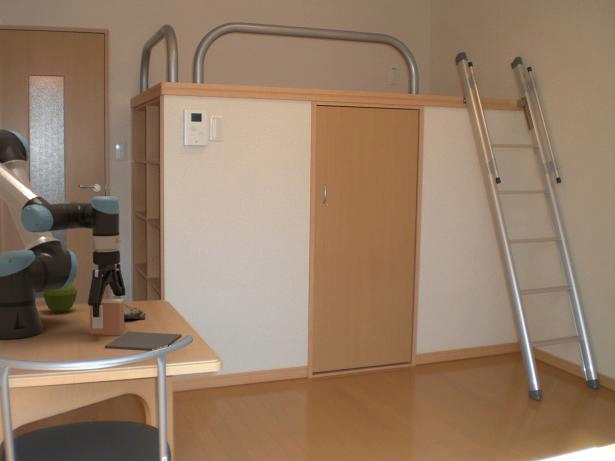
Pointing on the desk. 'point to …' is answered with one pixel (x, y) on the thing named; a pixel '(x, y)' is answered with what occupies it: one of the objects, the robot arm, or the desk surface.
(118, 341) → the mat
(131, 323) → the desk surface
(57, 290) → the apple
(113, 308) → the slab
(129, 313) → the rock
